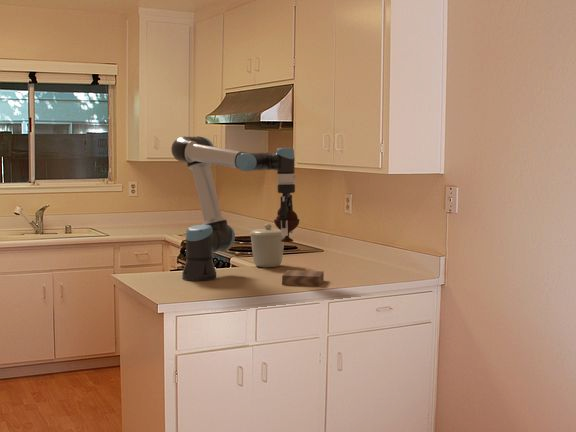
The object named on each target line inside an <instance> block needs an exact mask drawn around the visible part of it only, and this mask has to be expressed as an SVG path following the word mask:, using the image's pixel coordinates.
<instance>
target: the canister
mask: <svg viewBox="0 0 576 432" xmlns="http://www.w3.org/2000/svg"><path fill="white" fill-rule="evenodd" d="M249 236H250V240H251V242H250V243H251V250H252V258H253V263H254V265H255V266H256V267H260V268H276V267H280V266H281V264H282V262H283V254H284V247H285V242H281V240H282V239H283V238H285V236H281V230H280V229H278V228H272V224H271V223H265V224H264V228H258V229H253V230H251V232H249Z"/></svg>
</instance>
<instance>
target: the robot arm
mask: <svg viewBox="0 0 576 432" xmlns="http://www.w3.org/2000/svg"><path fill="white" fill-rule="evenodd" d="M171 154H172V156H173V158H174V159H175V160H176V161H178V162H180V163H181V162H182V163H186V165H187V169H189V170H190V171H192V175H193V176H192V177H193V180H194V183H195V188H196V193H197V196H198V201H199V205H200V210H201V213H202V214H201V215H202V218H203V222H202V224H197V225H191V226H190V227H187V229H186V232H185V234H186V235H185V249H186V250H185V255H186V256H185V259H186V261H185V264H184V268H183V270H182V276H181V278H182V279H183V280H185V279H186V280H185V281H191V280H194V282H195V281H196V282H200V281H201V282H204V281H205V282H206V281H212V280H216V279H217V270H216V268H215V265H214V262H213V253H216V252H217V253H218V252H223V251H226V250H228V249H230V248H232V247H233V244H234V242H235V239H236V234H235V229H234V228H233V227H231V225H229V224H228V221H227V218H225V217H224V216H223V214H222V211H221V205H220V202H219V198H218V192H217V190H216V185H215V180H214V177H213V172H212V168H211V166H212V165H215V166H222V167H227V168H233V169H238V170H240V171H243V172H251V171H274V170H275V171H277V173H276V177H277V178H276V180H277V193H279V194H282V196H280V206H279V209H280V219H279V221H281V236H288V221H287V213H288V208H289V210H292V211H294V208H293V195H292V194H293V193H296V184H295V183H296V181H295V179H296V178H297V176H296V174H295V173H296V172H295V167H296V166H295V165H296V164H295V159H296V158H295V149H294V148H292V147H278V148H277V149H276V152H246V151H240V150H234V149H229V148H222V147H216V146H214V144H213V143H212V141H211V139H209V138H206V137H205V136H204V137H203V136H199V135H197V136H180V137H178V138H176V139H175V140H174V141H173V143H172V145H171ZM293 232H294V230H292V231H290V232H289V234H293Z"/></svg>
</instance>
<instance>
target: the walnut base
mask: <svg viewBox="0 0 576 432" xmlns="http://www.w3.org/2000/svg"><path fill="white" fill-rule="evenodd" d="M324 273H325V271H324V270H321V271H319V270H297V269H295V270H293V269H292V270H290V269H288V270H286V271H285V272H284V273H283V274H282V275H281V277H282V278H281V279H282V280H281V285H282V286H284V285H285V286H304V287H305V286H308V287H309V286H310V287H320V286H321V285H322V283H323V282H324V278H325V277H324Z"/></svg>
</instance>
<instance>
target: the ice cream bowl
mask: <svg viewBox="0 0 576 432" xmlns="http://www.w3.org/2000/svg"><path fill="white" fill-rule="evenodd" d="M297 214H298V213H296V212H295V211H294V210H293V211H292V210H289V208H288V213H287V221H288V236H285V238H283V239H282V240H281V242H284V243H292V242H294V239H293V238H291V237H290V233H289V232H290V231H292V230H293V231H294V230H295V229H296V228H297V227H299V224H300V219H299V218H298V215H297ZM279 219H280V208H278V210H277V215H276V218H275V219H273V222H274V225H275V226H276V229H279V230H281V221H279Z"/></svg>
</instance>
